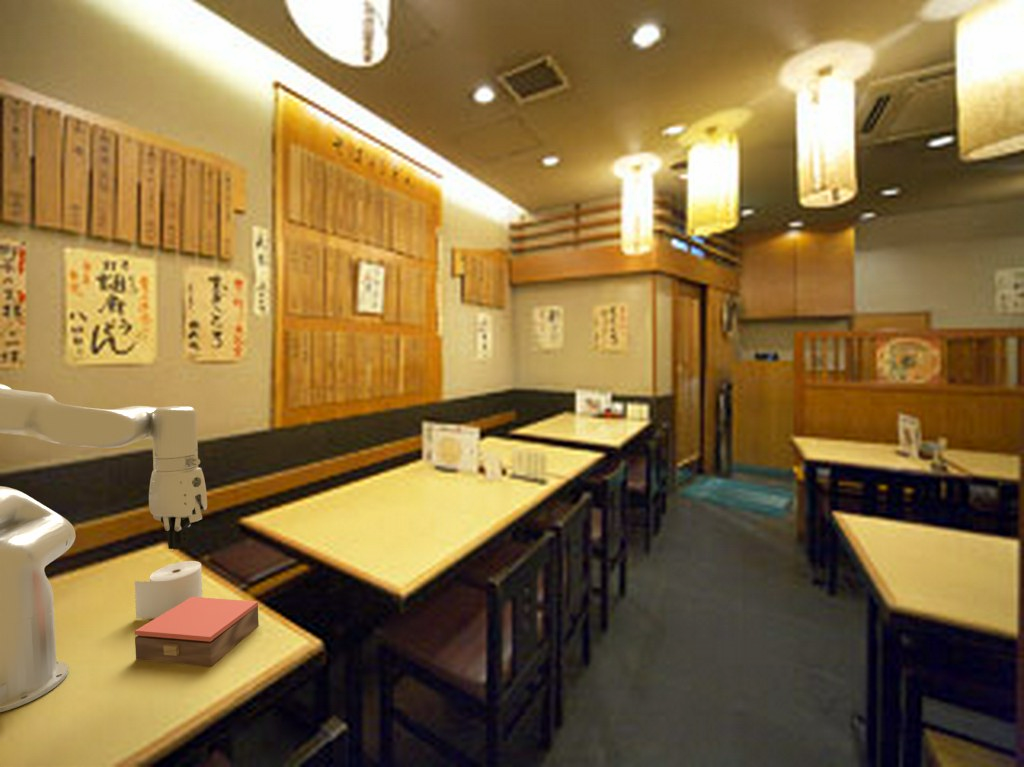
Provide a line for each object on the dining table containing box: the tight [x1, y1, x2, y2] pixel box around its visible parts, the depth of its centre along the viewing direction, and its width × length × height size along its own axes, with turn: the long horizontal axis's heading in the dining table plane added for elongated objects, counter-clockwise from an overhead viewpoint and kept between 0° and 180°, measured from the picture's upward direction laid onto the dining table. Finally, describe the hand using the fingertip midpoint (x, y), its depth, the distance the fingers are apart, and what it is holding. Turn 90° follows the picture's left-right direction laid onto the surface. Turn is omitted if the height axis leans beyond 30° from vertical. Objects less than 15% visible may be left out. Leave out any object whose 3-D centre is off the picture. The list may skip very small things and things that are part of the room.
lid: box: [134, 596, 259, 642], centre depth 96 cm, size 14×18×1 cm
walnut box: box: [134, 605, 260, 668], centre depth 96 cm, size 15×18×5 cm
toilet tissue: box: [134, 560, 203, 620], centre depth 109 cm, size 11×12×10 cm
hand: (178, 546), depth 90 cm, fingers closed
